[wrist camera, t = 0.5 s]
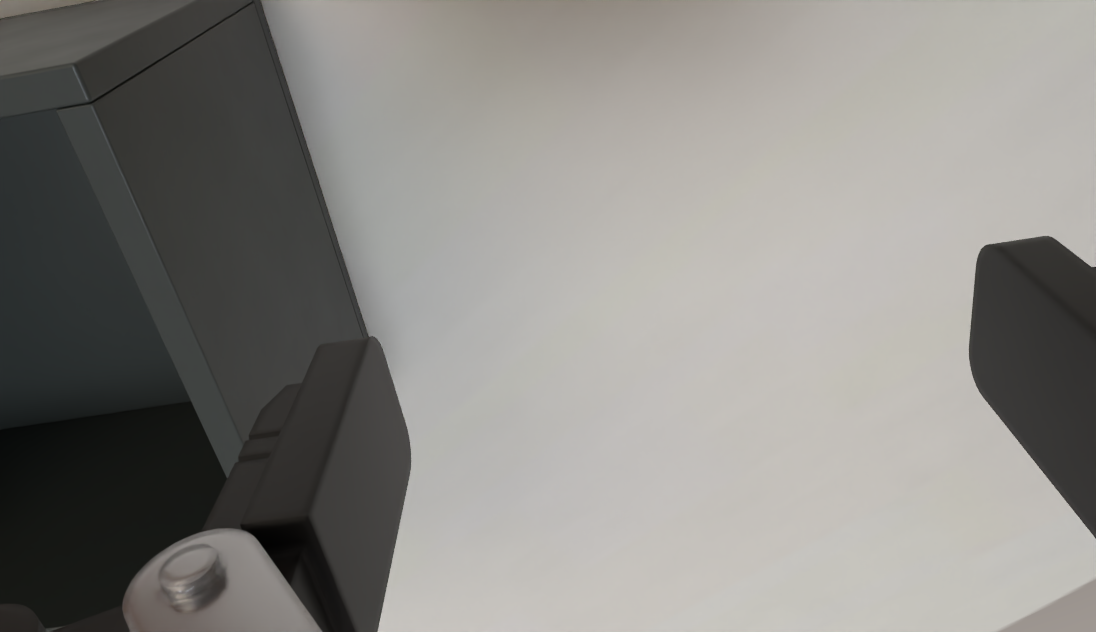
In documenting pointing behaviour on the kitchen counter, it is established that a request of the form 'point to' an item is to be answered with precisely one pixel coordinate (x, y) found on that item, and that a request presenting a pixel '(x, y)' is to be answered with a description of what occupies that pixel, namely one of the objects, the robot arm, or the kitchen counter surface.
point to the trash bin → (145, 281)
